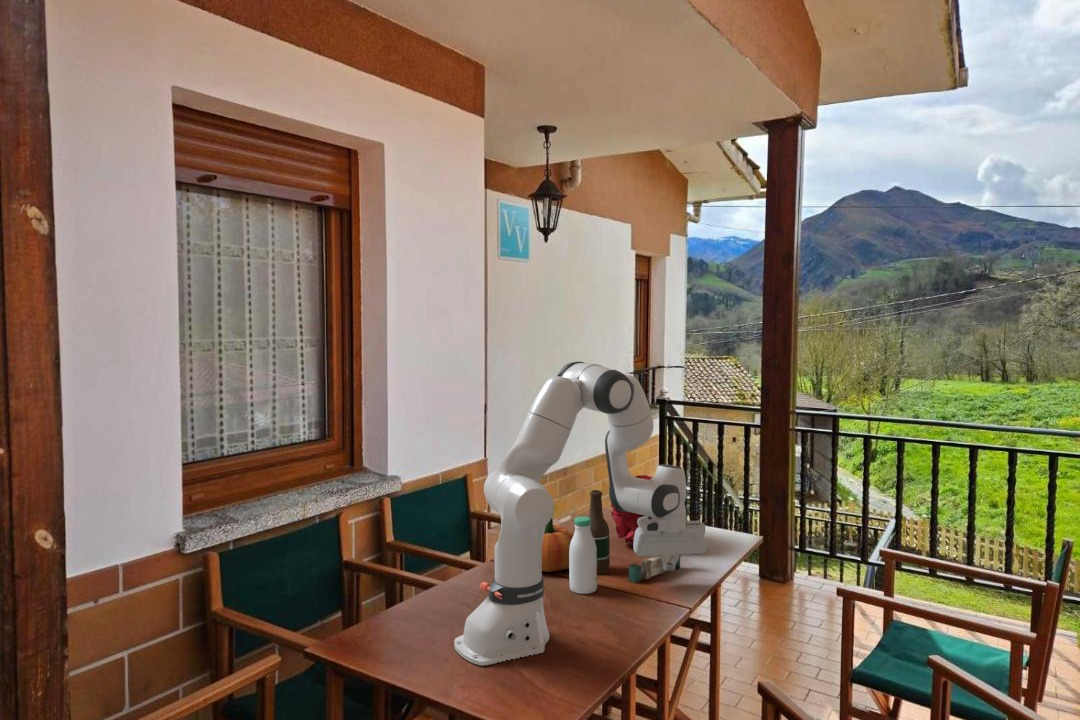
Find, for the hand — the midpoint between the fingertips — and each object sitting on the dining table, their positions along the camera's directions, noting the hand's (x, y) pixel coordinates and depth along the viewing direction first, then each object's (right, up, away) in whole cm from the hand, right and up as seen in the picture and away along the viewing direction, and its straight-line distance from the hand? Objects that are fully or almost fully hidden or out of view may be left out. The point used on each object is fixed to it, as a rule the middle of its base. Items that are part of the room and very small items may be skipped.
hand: (669, 569), depth 190 cm
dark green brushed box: (-9, -4, +3) cm, 10 cm away
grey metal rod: (-2, -4, +7) cm, 8 cm away
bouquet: (+1, -3, +32) cm, 32 cm away
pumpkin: (-34, -4, +16) cm, 38 cm away
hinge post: (+4, -3, +12) cm, 13 cm away
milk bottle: (-24, -5, -3) cm, 25 cm away
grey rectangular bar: (-2, -3, +7) cm, 8 cm away
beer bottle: (-19, -4, +11) cm, 23 cm away
